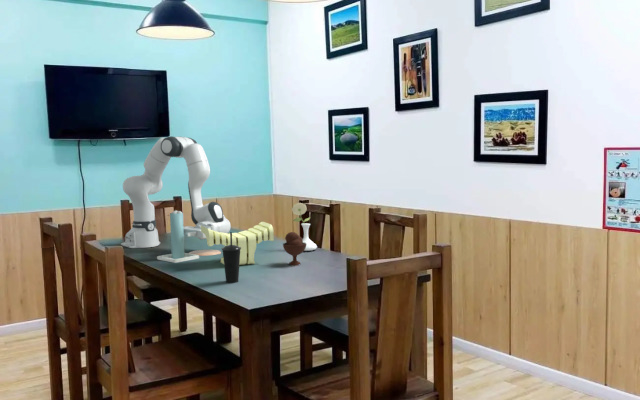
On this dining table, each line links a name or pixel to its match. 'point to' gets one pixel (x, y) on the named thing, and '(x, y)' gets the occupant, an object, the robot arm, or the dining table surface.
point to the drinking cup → (231, 261)
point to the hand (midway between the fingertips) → (180, 233)
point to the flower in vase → (304, 225)
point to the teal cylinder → (177, 234)
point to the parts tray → (169, 259)
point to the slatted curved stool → (242, 240)
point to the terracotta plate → (205, 252)
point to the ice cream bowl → (294, 246)
